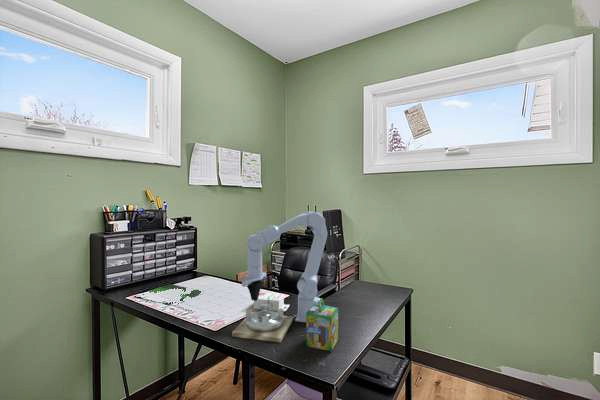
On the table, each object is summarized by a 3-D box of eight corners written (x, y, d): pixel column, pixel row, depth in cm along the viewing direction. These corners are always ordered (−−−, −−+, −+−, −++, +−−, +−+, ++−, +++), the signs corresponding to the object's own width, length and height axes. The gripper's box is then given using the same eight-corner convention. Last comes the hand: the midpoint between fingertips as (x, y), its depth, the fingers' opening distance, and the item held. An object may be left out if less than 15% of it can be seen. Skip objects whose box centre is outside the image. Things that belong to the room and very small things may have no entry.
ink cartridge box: (260, 292, 134) (290, 294, 131) (260, 302, 134) (290, 305, 131) (253, 298, 125) (285, 301, 122) (253, 309, 125) (285, 312, 122)
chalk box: (331, 353, 91) (332, 307, 91) (305, 346, 95) (305, 302, 95) (339, 339, 100) (339, 297, 100) (314, 334, 103) (315, 294, 103)
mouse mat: (207, 292, 148) (207, 290, 148) (174, 306, 128) (174, 304, 128) (168, 285, 159) (168, 283, 159) (132, 297, 139) (132, 295, 139)
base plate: (292, 320, 115) (293, 316, 115) (280, 342, 97) (280, 337, 97) (251, 315, 119) (251, 312, 119) (232, 336, 101) (232, 331, 101)
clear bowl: (265, 312, 118) (265, 300, 118) (290, 322, 109) (290, 309, 109) (238, 323, 107) (238, 310, 107) (263, 335, 98) (263, 321, 98)
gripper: (256, 260, 120) (255, 292, 120) (235, 268, 106) (234, 304, 106) (270, 262, 117) (270, 295, 117) (251, 270, 103) (250, 307, 104)
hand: (254, 299), depth 111 cm, fingers closed
